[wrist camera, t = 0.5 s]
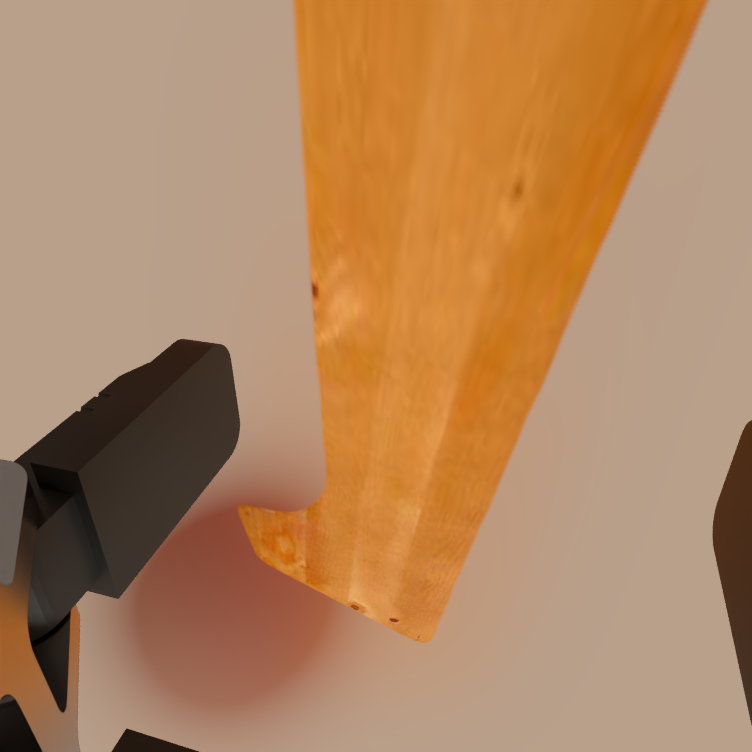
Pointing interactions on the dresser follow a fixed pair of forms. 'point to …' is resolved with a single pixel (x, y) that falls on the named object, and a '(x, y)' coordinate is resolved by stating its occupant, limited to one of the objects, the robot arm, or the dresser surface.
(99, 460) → the robot arm
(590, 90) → the dresser surface
